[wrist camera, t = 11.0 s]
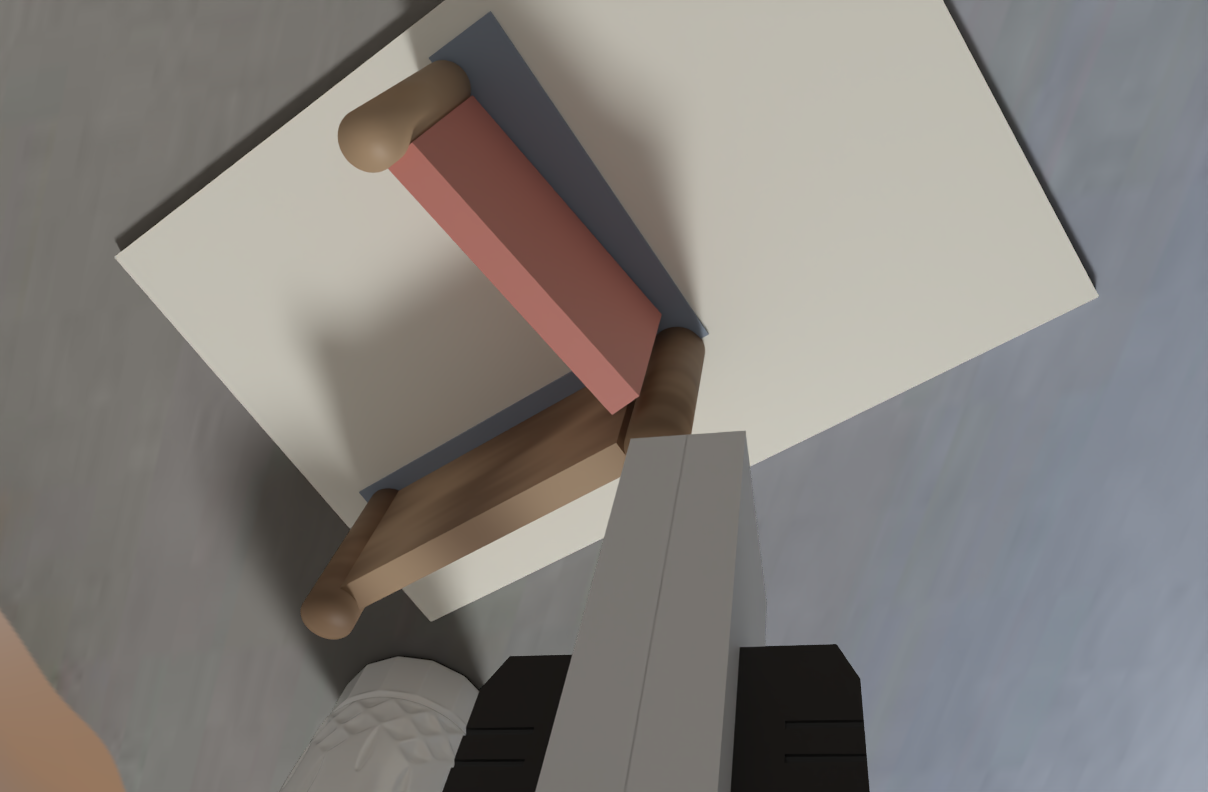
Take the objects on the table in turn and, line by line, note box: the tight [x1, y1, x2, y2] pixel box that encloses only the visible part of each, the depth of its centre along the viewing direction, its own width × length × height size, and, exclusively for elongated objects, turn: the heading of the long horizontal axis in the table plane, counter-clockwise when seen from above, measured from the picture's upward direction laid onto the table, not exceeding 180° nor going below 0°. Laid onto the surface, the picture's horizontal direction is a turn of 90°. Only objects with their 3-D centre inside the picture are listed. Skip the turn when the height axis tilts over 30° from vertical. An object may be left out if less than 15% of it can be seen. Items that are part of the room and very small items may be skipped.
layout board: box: [115, 0, 1099, 622], centre depth 35 cm, size 27×18×1 cm, turn 125°
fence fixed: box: [301, 327, 705, 639], centre depth 35 cm, size 15×2×6 cm, turn 125°
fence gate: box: [338, 60, 662, 415], centre depth 30 cm, size 10×2×7 cm, turn 41°
